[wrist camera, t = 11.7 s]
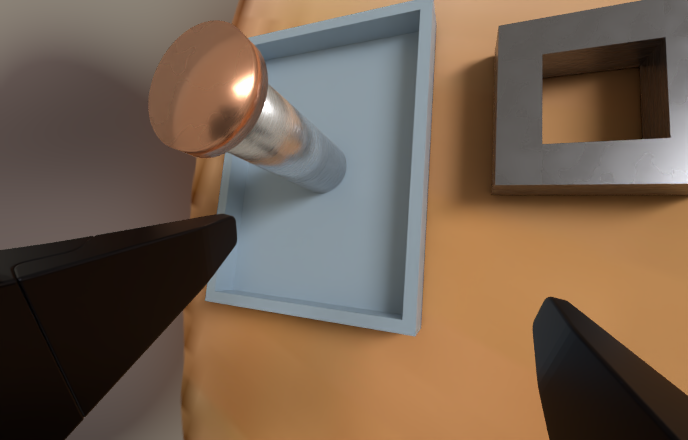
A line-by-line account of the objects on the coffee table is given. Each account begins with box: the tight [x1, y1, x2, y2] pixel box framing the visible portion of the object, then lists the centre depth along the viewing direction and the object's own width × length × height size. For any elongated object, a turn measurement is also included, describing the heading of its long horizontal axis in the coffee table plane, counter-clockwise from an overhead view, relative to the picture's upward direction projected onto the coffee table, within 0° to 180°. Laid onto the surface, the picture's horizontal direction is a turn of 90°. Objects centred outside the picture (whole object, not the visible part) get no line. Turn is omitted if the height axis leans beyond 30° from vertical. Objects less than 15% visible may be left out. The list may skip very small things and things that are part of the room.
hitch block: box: [491, 0, 688, 195], centre depth 18 cm, size 10×10×2 cm
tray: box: [205, 0, 436, 336], centre depth 23 cm, size 22×16×3 cm
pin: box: [149, 21, 347, 193], centre depth 18 cm, size 6×6×12 cm
